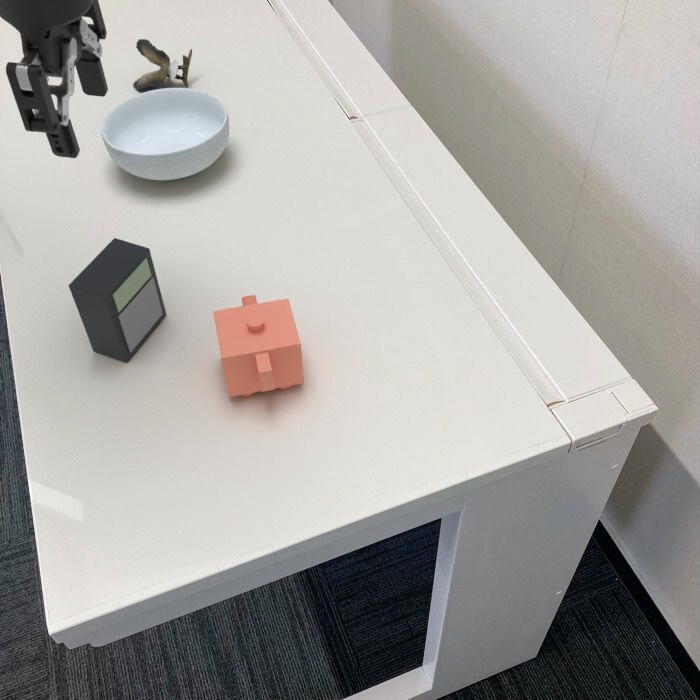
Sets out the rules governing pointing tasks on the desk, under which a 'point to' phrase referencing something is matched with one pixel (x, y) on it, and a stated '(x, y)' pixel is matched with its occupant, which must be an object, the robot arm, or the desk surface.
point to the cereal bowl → (166, 133)
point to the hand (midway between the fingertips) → (82, 123)
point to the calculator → (119, 299)
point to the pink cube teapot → (259, 346)
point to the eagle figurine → (164, 62)
